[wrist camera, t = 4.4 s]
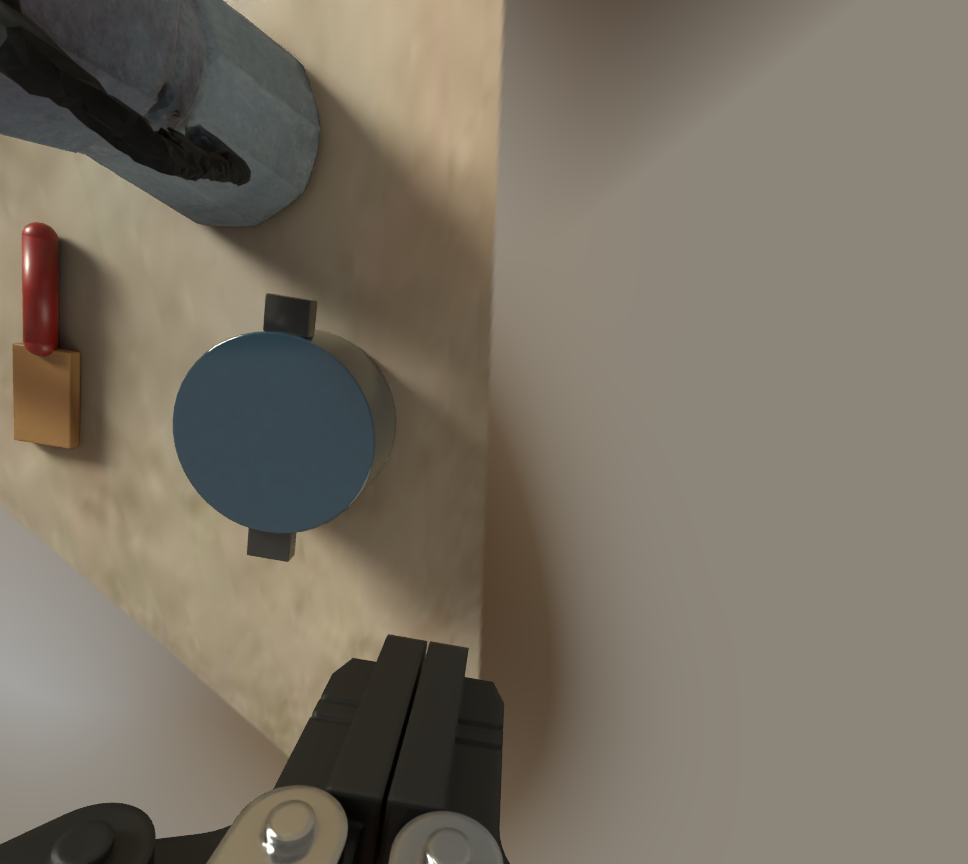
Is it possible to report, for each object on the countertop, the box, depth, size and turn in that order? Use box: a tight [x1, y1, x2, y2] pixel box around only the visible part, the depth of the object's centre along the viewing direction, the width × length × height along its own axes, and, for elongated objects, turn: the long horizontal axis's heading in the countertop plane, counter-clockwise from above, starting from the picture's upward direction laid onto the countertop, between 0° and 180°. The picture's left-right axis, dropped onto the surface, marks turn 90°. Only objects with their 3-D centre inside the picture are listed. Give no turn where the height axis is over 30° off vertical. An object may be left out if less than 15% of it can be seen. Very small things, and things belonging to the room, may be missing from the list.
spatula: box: [13, 222, 80, 449], centre depth 29 cm, size 11×3×1 cm, turn 171°
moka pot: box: [0, 0, 320, 227], centre depth 17 cm, size 10×15×20 cm, turn 53°
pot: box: [173, 294, 396, 562], centre depth 28 cm, size 9×12×4 cm
